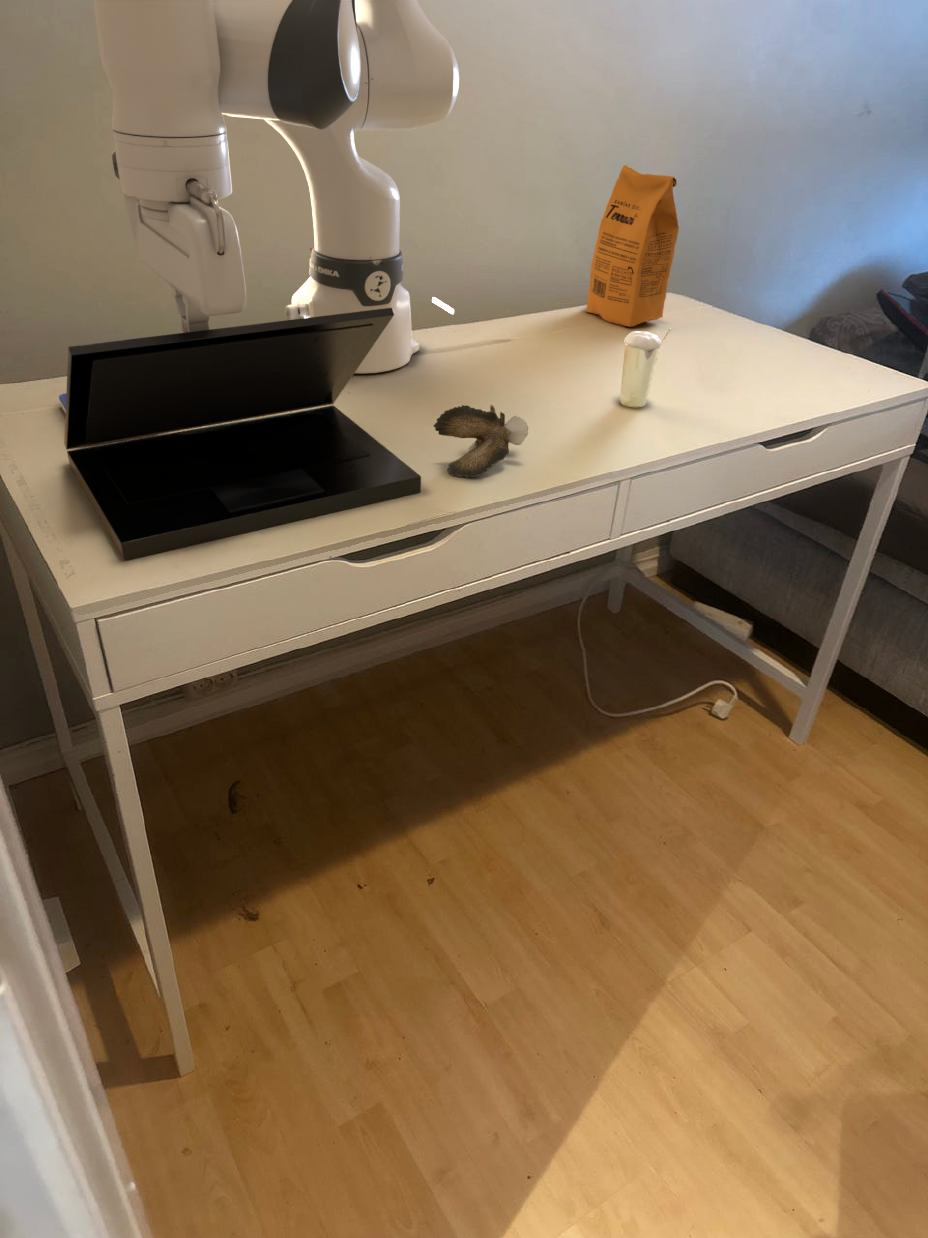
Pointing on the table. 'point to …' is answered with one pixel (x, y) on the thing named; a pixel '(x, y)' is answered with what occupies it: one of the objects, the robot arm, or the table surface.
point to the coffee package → (634, 249)
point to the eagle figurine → (480, 437)
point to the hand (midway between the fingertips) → (196, 337)
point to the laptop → (235, 478)
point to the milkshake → (638, 367)
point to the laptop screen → (212, 375)
